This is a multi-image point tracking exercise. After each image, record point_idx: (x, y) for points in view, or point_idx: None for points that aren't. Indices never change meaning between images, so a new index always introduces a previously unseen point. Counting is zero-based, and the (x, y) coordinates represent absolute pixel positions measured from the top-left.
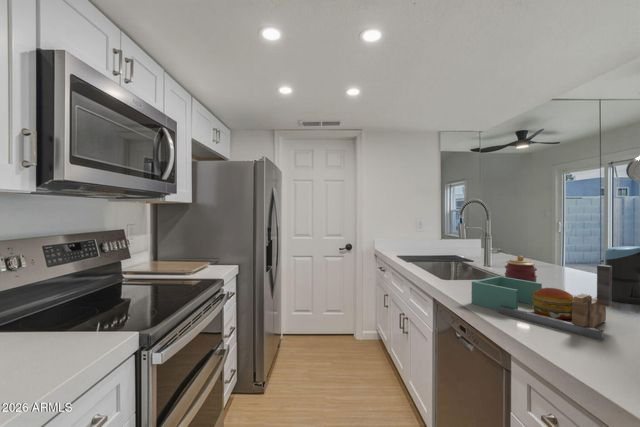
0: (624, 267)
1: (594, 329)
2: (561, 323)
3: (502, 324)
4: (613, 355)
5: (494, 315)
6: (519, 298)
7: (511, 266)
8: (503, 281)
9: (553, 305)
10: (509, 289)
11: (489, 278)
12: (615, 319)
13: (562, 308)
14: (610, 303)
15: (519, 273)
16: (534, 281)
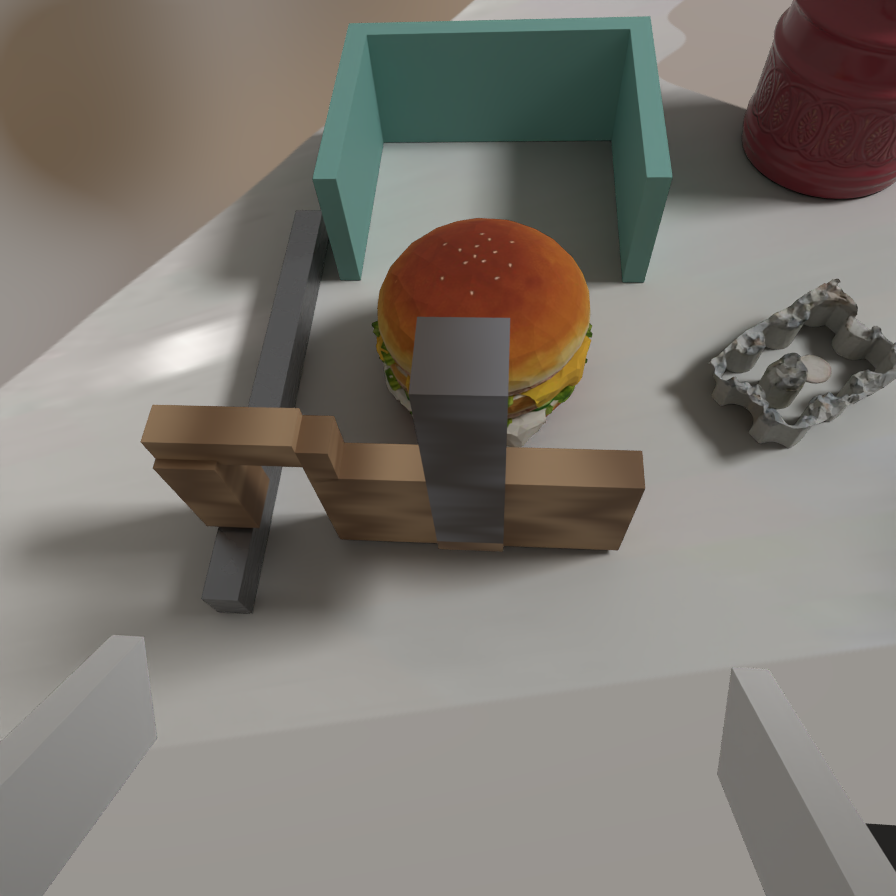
0: None
1: (221, 566)
2: None
3: (140, 303)
4: (18, 691)
5: (251, 242)
6: (619, 194)
7: None
8: (626, 64)
9: (378, 346)
10: (319, 156)
11: (521, 24)
12: (728, 577)
13: (404, 383)
14: (472, 543)
15: (803, 36)
16: (870, 123)
